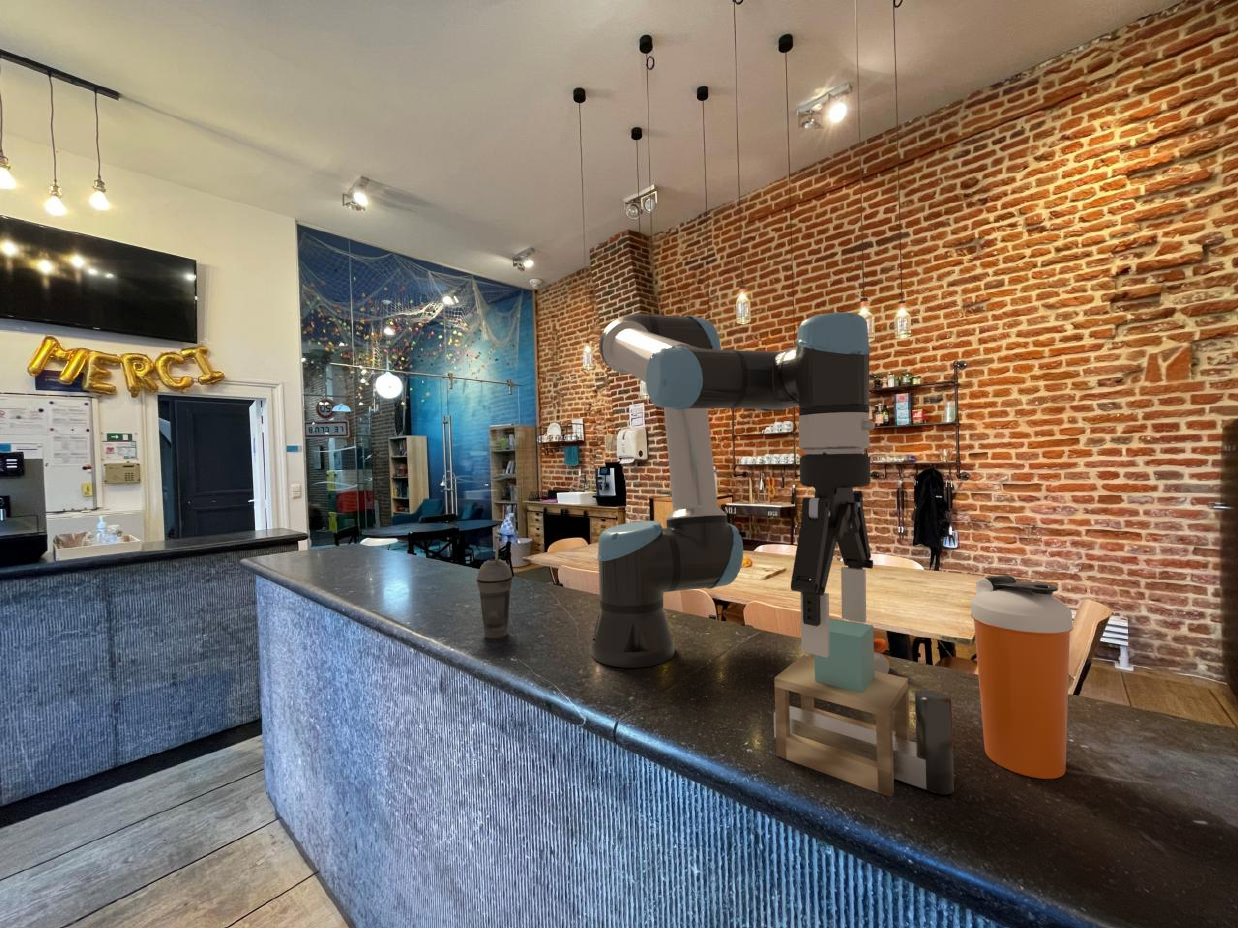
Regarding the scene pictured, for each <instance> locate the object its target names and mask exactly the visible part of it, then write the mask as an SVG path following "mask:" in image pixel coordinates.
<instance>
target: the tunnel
mask: <svg viewBox="0 0 1238 928" xmlns="http://www.w3.org/2000/svg"><path fill="white" fill-rule="evenodd" d="M874 672H875V678H874V679H873V680H872V682H871V683H870V684H869V685H868V687H867V688H866V689H865V690H864V692H863V693H859V692H856V691H852V690H848V689H844V688H840V687H836V686H832V685H828V684H824V683H820V682H816V681H815V661H814V656H809V655H806V654H802V656H800V657H799V658H797V659H796V660H795V661H794V662H793V663H791V664H790V665H788V667H786V668H785V669H784V670H782V671H781V672H780V673H778V674H777V675H776V676H774V679H773V682H774V708H775V710H774V712H775V719H776V738H775V746H776V747H775V749H776V751H775V752H776V753H775V754H776V756H777V757H779V758H782V759H784V760H787V761H789V762H793V763H795V764H798V765H801V766H804V767H806V768H809V769H812V770H814V771H818V772H820V773H823V774H825V775H828V776H831V777H833V778H836V779H839V780H842V781H845V782H847V783H850V784H853V785H855V786H859V787H861V788H864V789H867V790H869V791H873V792H876V793H878V794H880V795H882V796H883V795H884V796H886V797H887V798H892V797H893V795H894V793H895V784H894V782H895V781H894V774H893V739H892V736H895V737H898V738H902V739H905V740H909V741H911V739H910V738H911V737H910V735H911V733H910V703H909V678H908V677H903V676H898V675H894V674H891V673H887V674H886V673H882V672H877V671H874ZM790 692H793V693H797V694H800V709H803V710H806V711H810V712H813V713H816V714H820V715H823V716H827V717H830V718H834V719H837V720H840V721H844V722H847V723H851V724H854V725H857V726H861V727H864V728H868V729H871V730H874V731H876V737H877V762H876V761H873V760H870V759H867V758H864V757H861V756H858V755H855V754H852V753H849V752H846V751H843V750H840V749H837V748H834V747H831V746H828V745H825V744H822V743H819V742H816V741H813V740H810V739H806V738H803V737H800V736H797V735H794V734H791V733H790V711H789V706H790ZM814 699H819V700H823V701H825V702H830V703H833V704H837V705H841V706H843V707H848V708H851V709H854V710H855V709H856V710H858V711H863V712H866V713H870V714H873V715H875V725H874V724H872V723H868V722H865V721H861V720H857V719H854V718H851V717H846V716H843V715H840V714H837V713H832V712H829V711H825V710H823V709H819V708H815V700H814ZM893 712H894V728H895V729H894V730H893V715H892V714H893Z"/></svg>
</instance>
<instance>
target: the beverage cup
mask: <svg viewBox="0 0 1238 928" xmlns="http://www.w3.org/2000/svg"><path fill="white" fill-rule="evenodd" d="M499 541H500V538H499V537H496V539H495V555H494V557H495V558H490V559H487V560H486V561H485V562H483V563H482V564H481V566H480V568H479V569H478V572H477V578H476V583H477V588H478V591H479V598H480V606H481V607H480V608H481V609H480V610H481V617H482V624H483V625H482V626H483V630H484V631H483V632H484V637H485V638H487V639H500V638H504V637H506V636H507V635H508V629H509V617H510V615H509V614H510V602H511V601H510V600H511V599H510V598H511V597H510V596H511V588H512V582H513V581H512V580H513V578H514V577H513V574H512V570H511V567H510V566H509V564H508V563H507V562H506V561H504V560H502V559H500V558H499V547H500V545H499Z"/></svg>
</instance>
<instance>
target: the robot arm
mask: <svg viewBox="0 0 1238 928" xmlns="http://www.w3.org/2000/svg"><path fill="white" fill-rule="evenodd" d="M796 337H797V338H796V344H797V345H795V346H793V347H791V348H787V349H784V350H779V351H772V350H771V351H769V350H741V349H729V350H728V349H721V347H722V346H721V340H720V337H719V333H718V331H717V329H716V327H715V325H714V323H712V322H710V321H709V320H708V319H706V318H702V317H695V316H693V315H683V316H681V315H680V316H679V315H664V314H663V315H662V314H647V313H634V314H628V315H624V316H621V317H618V318H617V319H615V320H613V321H611V322H610V323H609V324H607V326H606V327H605V328H604V330H603V331H602V333H601V336H600V338H599V343H598V349H599V354H600V357H601V359H602V360H603V362H604V364H605V365H606V366H607V367H608V368H610V370H613V371H614V372H616V373H618V374H622V375H632V376H634V377H635V378H637V379H639V380H640V381H641V382H643V383H645V387H646V392H647V394H648V396H649V400H650V402H651V403H652V405H653V406H655V407H658V408H662V409H663V411H664V413H663V415H664V423H665V434H666V435H665V436H666V446H667V457H668V468H669V479H670V480H669V481H670V489H671V490H670V492H671V502H672V503H671V504H672V511H671V512H670V513H669V515H668V516H667V517H666V519H665V522H666V523H665V525H666V527H664V528H663V526H662V525H661V523H660V522H659V521H656V520H643V521H634V522H628V523H623V524H622V523H621V524H618V525H615V526H611V527H608V528H607V529H604V530H603V531H602V532H601V534H600V535H599V537H598V552H597V557H596V558H597V561H598V585H599V586H598V587H599V589H598V590H599V613H598V617H597V620H596V622H595V623H596V624H595V628H594V632H593V633H594V634H593V635H592V638H591V643H590V649H591V650H590V651H591V652H590V653H591V657H592V658H593V659H594V660H595V661H597V662H598V663H601V664H603V665H606V666H610V667H617V668H624V669H625V668H627V669H628V668H632V669H636V668H637V669H638V668H646V667H651V666H657V665H660V664H663V663H665V662H667V661H669V660H670V659H672V658H673V656H675V655H674V654H675V638H674V636H673V634H672V632H671V628H670V625H669V622H668V619H667V616H666V612H665V607H664V593H669V592H670V593H671V592H679V591H689V590H690V591H691V590H699V589H709V590H712V589H714V588H719V587H725V586H728V585H730V584H732V583H733V582H734V581H735V580H736V579H737V577H738V575H739V573H741V572H740V571H741V568H742V565H743V561H744V560H743V559H744V546H743V545H744V543H743V539H742V535H741V534H740V530H739V529H738V528H737V527H736V525H733V524H731V523H728V515H727V513H726V512H725V511H723V510H722V508H720V506H718V505H719V503H718V497H717V486H716V479H715V478H716V476H715V469H714V468H715V467H714V459H713V450H712V449H713V448H712V438H711V428H710V421H709V420H710V419H709V411H708V410H709V409H732V410H733V409H736V410H737V409H741V410H742V409H744V410H746V409H748V410H750V409H754V410H757V411H761V412H779V411H783V410H785V409H786V410H787V409H791V408H796V407H798V449H800V450H803V452H804V454H802V455H801V456H800V457H799V460H798V461H799V482H800V485H801V486H803V487H806V488H813V489H814V491H815V492H814V496H813V497H803V498H802V501H801V521H800V527H799V533H798V538H797V545H796V551H795V557H794V562H793V569H792V576H791V580H790V591H792V592H798V593H800V642H801V643H800V646H801V647H800V648H801V650H800V651H801V652H802V653H806V654H811V655H818V656H822V657H828V656H830V642H829V618H830V594H829V593H827V592H826V588H827V585H828V584H827V583H828V579H829V576H830V575H829V574H830V571H831V567H832V562H833V557H834V553H835V550H836V547H838V549H839V552H840V555H841V558H842V562H843V564H844V566H842V567H840V571H841V572H840V574H841V575H840V577H841V578H840V580H841V582H840V583H841V585H840V587H841V589H840V590H841V591H840V593H841V620H845V621H851V622H857V623H863V624H866V622H867V575H866V574H867V573H866V571H867V570H866V569H870V570H871V569H873V567H874V560H873V559H871V558H872V554H871V549H870V542H869V536H868V530H867V526H866V525H867V524H866V516H865V512H864V502H863V501H864V499H863V497H864V494H863V491H862V490H854V489H853V488H865V487H868V486H869V485H870V484H871V475H872V474H871V456H869V453H864V449H868V448H869V447H870V445H871V443H870V439H871V438H870V432H869V431H872V430H874V429H875V427H876V424H875V422H874V421H872V420H870V354H871V348H870V340H869V329H868V322H867V320H866V318H865V317H863V316H862V315H861V314H857V313H854V312H831V313H823V314H819V315H813V316H810V317H808V318H805V319H804V320H802V321H801V323H800V325H799V326H798V329H797V336H796Z"/></svg>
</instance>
